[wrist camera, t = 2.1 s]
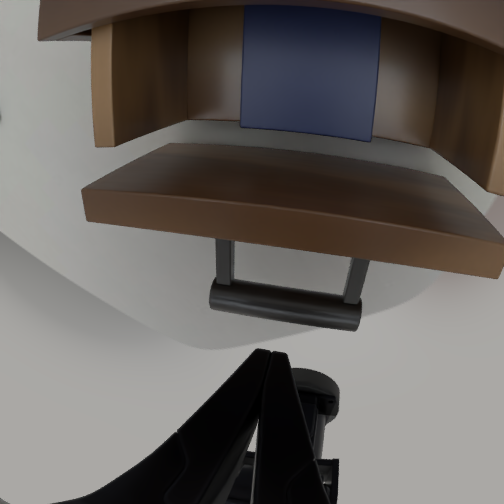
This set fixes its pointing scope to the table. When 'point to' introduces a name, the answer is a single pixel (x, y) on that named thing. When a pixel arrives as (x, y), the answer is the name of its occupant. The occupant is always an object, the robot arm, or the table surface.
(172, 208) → the drawer
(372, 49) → the card deck
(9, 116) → the table surface
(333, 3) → the cabinet
